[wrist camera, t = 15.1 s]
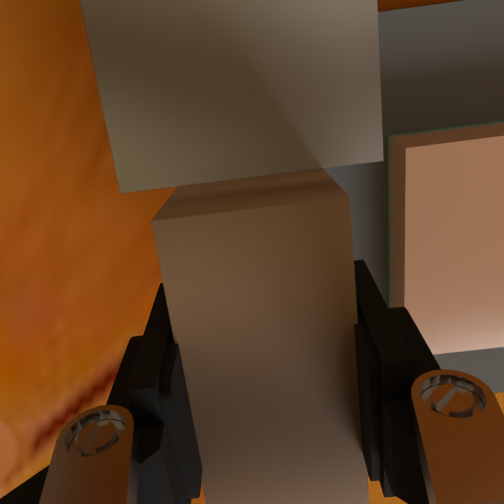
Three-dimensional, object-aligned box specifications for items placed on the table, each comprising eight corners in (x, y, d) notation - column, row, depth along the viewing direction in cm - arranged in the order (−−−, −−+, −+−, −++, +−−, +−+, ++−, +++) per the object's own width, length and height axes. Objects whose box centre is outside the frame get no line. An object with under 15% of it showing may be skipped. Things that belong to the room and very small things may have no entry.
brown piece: (76, -57, 11) (-22, -141, 7) (366, -99, 10) (431, -210, 7) (184, 471, 15) (162, 597, 11) (390, 451, 15) (437, 573, 11)
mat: (236, 414, 22) (235, 421, 22) (168, 40, 16) (167, 40, 15) (586, 376, 22) (592, 382, 21) (670, -28, 15) (680, -30, 15)
